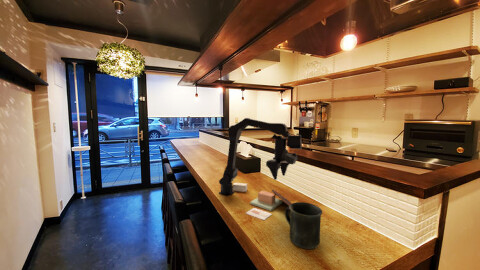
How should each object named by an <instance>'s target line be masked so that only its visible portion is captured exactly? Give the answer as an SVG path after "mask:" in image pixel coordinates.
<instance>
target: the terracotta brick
mask: <svg viewBox="0 0 480 270" xmlns="http://www.w3.org/2000/svg"><path fill="white" fill-rule="evenodd" d="M276 197H277V195H276V194H274V192H268V191H265V190H261V191H258V192H257V198H258V201H262V202H265V203H268V204H271V205H272V204H273V203H275V198H276Z"/></svg>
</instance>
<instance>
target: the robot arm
mask: <svg viewBox="0 0 480 270" xmlns="http://www.w3.org/2000/svg"><path fill="white" fill-rule="evenodd" d="M247 127H252V128H257V129H262V130H267V131H269V132H271V133H272V134H273V135H272V136H271V137H270V139H271V140H274V149H272V152H273V153H274V157H272V159H269V160H266V162H265V166H266V167H267V168H268V170H269V171H270V173H271V175H272V178H273V180H275V181H276V180H277V179H278V173H279V170H280V171H281V175H282V176H284V177H285V175H286V174H287V169H288V167H289V165H294V164H296V162H297V161H298V159H299V158H298V154H297V153H296V152H294V153H289V150H288V149H293V150H294V149H297V150H302V135H301V134H298V135H295V134H294V135H292V134H291V133H290V132H289V130H288V127H287V125H286V124H285V123H281V122H266V121H262V120H257V119H252V118H250V117H245V118H244V119H242V120H241V121H239V122H237V123H235V124H233V125H232V124H231V125H230V126H228V128H227V133H228V134H227V137H228V140H229V144H228V151H227V152H228V153H227V163H226V166H225V168H224V170H223V173H222V177H221V178H220V179H219V180H218V184H219V185H220V191H218V194H220V195H222V196H226V197H228V196H230V195H232V194H234V193H235V191H233V182H234V180H235V179H236V177H237V176H238V171H239V169H238V168H237V167H236V161H237V151H238V144H239V140H240V138H241V136H242V133H243V132H242V131H244V130H245V129H246V128H247ZM287 147H288V149H287Z"/></svg>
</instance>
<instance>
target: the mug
mask: <svg viewBox="0 0 480 270" xmlns="http://www.w3.org/2000/svg"><path fill="white" fill-rule="evenodd" d="M291 203H292V204H291V205H290V206H287V207H286V208H285V210H284V215H285V220H286V222H287V224H289V239H290V241H291V242H292V243H293V244H294V245H295V246H297V247H299V248H302V249H306V250H311V249H312V250H313V249H316V248H318V246H319V245H320V244H321V243H320V240H321V239H320V237H321V224H322V223H321V219H322V217H321V216H322V214H323V210H322V208H320V207H319V206H318V205H316V204H313V203H311V202H305V201H303V202H302V201H298V202H297V201H296V202H291Z"/></svg>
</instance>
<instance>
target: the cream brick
mask: <svg viewBox="0 0 480 270" xmlns="http://www.w3.org/2000/svg"><path fill="white" fill-rule="evenodd" d="M232 186H233V192H245V193H246V192H247V191H248V183H242V182H234V183H232Z"/></svg>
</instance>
